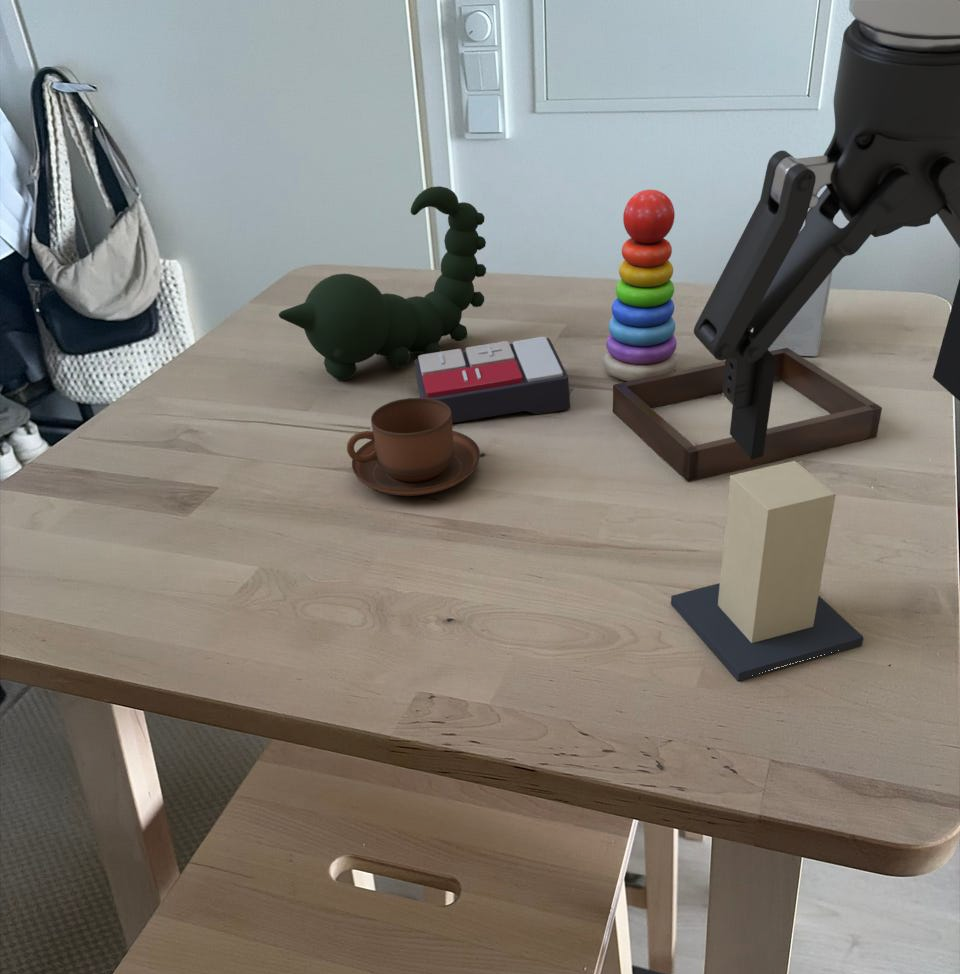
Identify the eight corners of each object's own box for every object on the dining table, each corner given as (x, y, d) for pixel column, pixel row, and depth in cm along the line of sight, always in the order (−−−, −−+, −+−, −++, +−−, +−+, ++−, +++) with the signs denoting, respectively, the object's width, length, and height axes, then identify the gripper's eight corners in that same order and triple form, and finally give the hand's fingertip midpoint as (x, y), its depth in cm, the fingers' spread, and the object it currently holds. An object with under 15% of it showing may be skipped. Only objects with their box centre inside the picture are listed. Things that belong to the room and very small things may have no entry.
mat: (784, 573, 81) (786, 565, 80) (862, 645, 73) (864, 636, 73) (670, 603, 79) (670, 595, 78) (737, 681, 71) (739, 673, 71)
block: (776, 590, 78) (794, 460, 71) (813, 626, 74) (836, 493, 67) (717, 605, 77) (729, 475, 70) (751, 643, 73) (768, 510, 66)
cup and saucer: (394, 522, 91) (385, 459, 87) (332, 471, 99) (322, 412, 95) (506, 478, 96) (502, 418, 92) (438, 433, 104) (432, 376, 100)
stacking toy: (596, 382, 111) (598, 200, 99) (611, 353, 117) (614, 178, 105) (670, 387, 109) (680, 202, 97) (681, 357, 115) (692, 179, 103)
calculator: (412, 352, 111) (548, 329, 112) (418, 389, 114) (551, 367, 114) (421, 394, 103) (568, 370, 103) (427, 433, 105) (571, 409, 106)
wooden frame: (783, 374, 110) (787, 347, 108) (876, 436, 98) (882, 407, 96) (612, 411, 105) (612, 384, 103) (687, 482, 93) (689, 452, 91)
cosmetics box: (820, 357, 112) (834, 260, 106) (759, 355, 114) (770, 259, 107) (821, 322, 120) (834, 229, 114) (764, 320, 122) (774, 228, 115)
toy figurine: (455, 338, 128) (268, 377, 116) (455, 173, 117) (249, 198, 105) (498, 361, 121) (305, 404, 110) (502, 189, 110) (288, 217, 99)
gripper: (1116, -54, 50) (994, 334, 66) (639, 50, 46) (631, 434, 62) (1238, -12, 45) (1074, 397, 61) (714, 108, 41) (684, 509, 57)
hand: (850, 416), depth 61 cm, fingers open, 13 cm apart
